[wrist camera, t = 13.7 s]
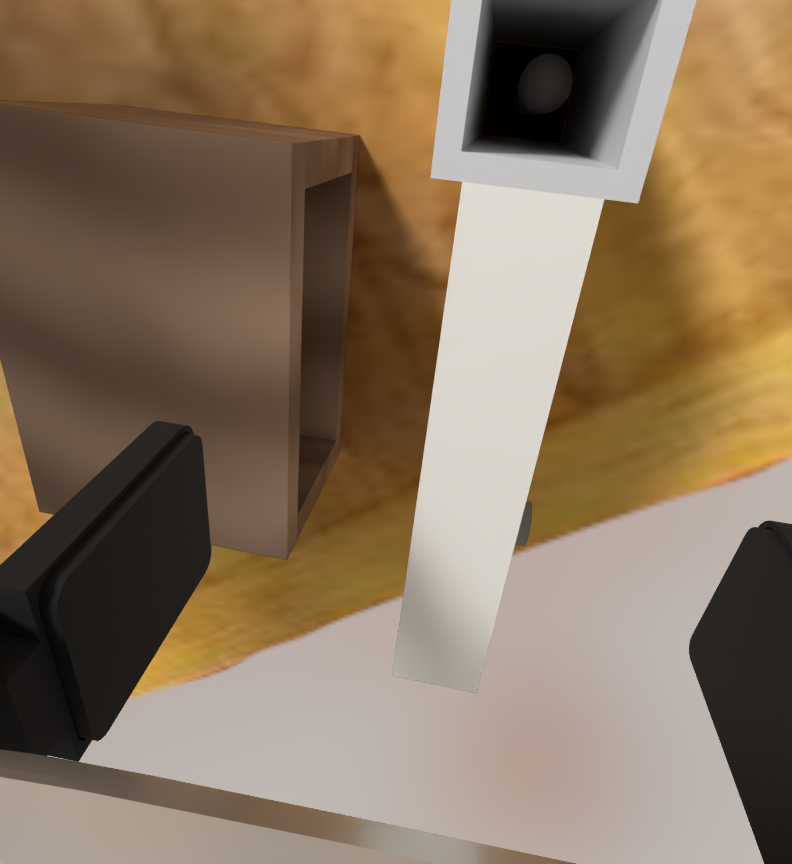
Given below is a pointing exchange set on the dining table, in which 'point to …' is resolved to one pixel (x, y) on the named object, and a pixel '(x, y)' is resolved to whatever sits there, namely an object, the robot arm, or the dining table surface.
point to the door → (516, 293)
